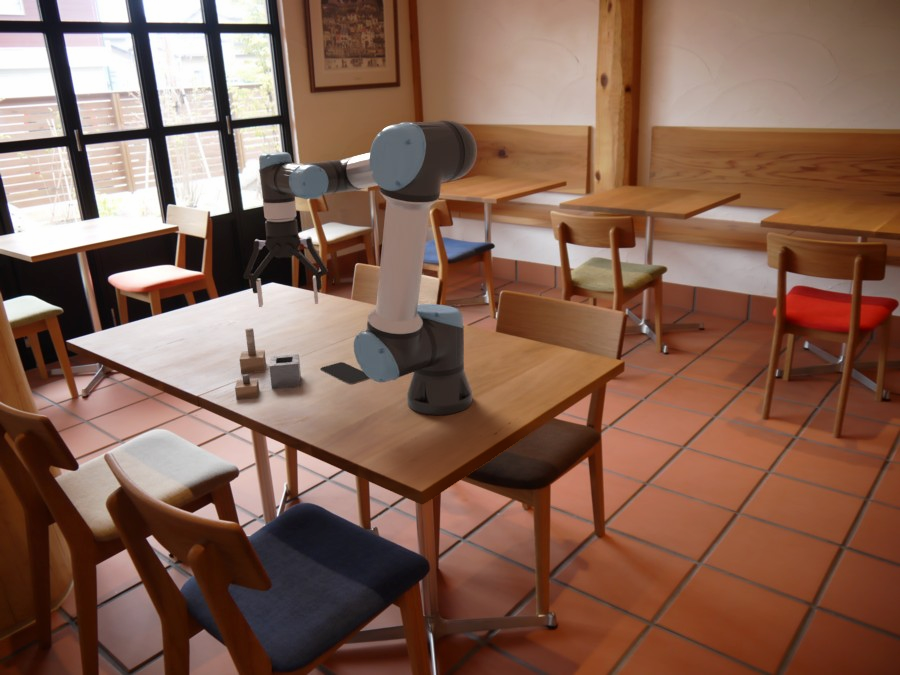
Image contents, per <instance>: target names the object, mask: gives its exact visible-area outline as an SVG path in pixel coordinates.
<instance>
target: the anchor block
mask: <svg viewBox="0 0 900 675" xmlns="http://www.w3.org/2000/svg"><path fill="white" fill-rule="evenodd" d="M241 377H242V379H237V380H236V383H235V387H234V389H235V398H236V400H244V399H256V398H258V397H259V393H260V386H259V385H260V384H259V378H250V373H243V374H242V375H241Z"/></svg>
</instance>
